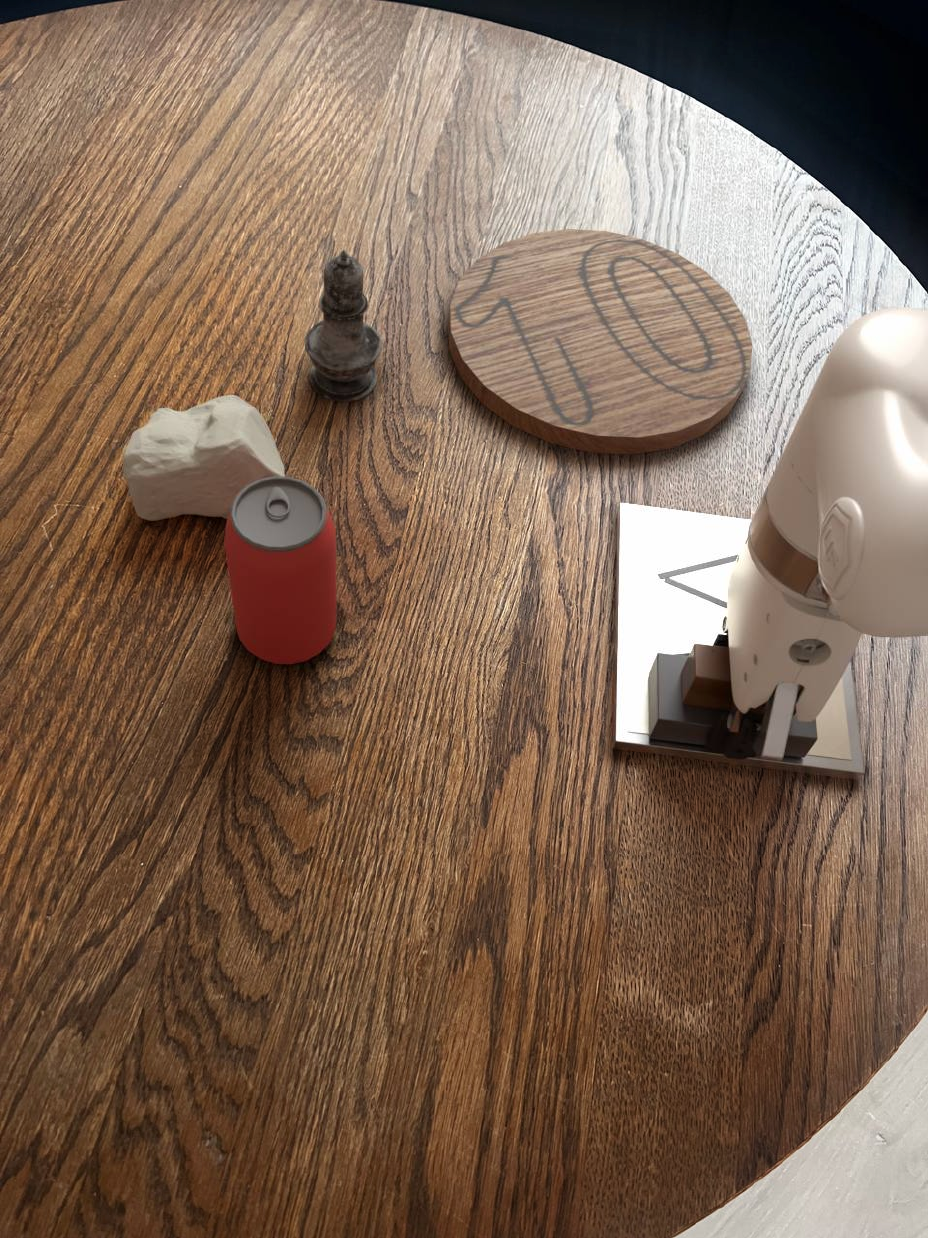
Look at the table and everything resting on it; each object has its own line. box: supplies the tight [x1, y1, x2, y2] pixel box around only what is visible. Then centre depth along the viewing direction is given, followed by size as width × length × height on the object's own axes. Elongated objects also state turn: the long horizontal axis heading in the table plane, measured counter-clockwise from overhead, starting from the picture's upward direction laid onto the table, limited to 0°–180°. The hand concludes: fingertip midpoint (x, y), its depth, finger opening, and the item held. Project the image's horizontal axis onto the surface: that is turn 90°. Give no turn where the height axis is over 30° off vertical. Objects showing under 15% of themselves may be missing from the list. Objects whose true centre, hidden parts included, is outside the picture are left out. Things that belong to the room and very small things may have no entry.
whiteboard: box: [611, 502, 865, 781], centre depth 78 cm, size 20×16×1 cm
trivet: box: [447, 228, 753, 455], centre depth 93 cm, size 25×25×2 cm
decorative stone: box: [122, 394, 286, 522], centre depth 79 cm, size 11×9×10 cm
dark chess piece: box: [304, 250, 383, 403], centre depth 84 cm, size 6×6×12 cm
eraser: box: [649, 643, 818, 758], centre depth 71 cm, size 10×5×6 cm, turn 85°
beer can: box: [223, 476, 337, 665], centre depth 70 cm, size 7×7×12 cm
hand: (728, 710), depth 72 cm, fingers closed on eraser, 5 cm apart
